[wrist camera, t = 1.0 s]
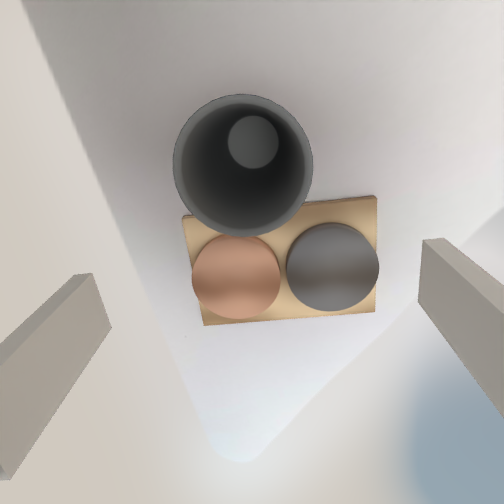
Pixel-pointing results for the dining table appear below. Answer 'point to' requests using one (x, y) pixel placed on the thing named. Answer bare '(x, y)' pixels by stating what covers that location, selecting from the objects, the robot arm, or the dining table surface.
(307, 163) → the cup
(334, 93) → the dining table surface
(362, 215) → the stand board
